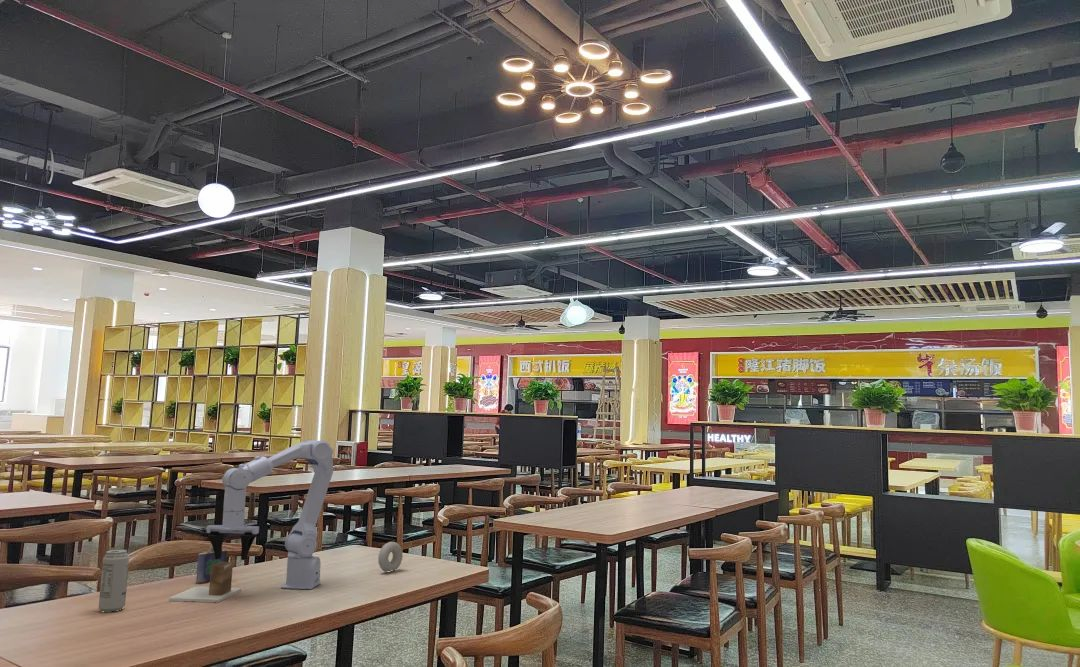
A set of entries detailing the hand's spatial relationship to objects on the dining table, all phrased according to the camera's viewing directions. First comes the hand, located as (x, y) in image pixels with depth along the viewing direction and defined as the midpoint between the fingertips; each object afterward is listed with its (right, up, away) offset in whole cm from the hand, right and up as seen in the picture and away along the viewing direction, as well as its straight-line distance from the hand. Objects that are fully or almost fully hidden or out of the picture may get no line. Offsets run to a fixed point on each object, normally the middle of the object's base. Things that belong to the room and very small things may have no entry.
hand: (231, 559), depth 208 cm
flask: (-14, -12, +17) cm, 25 cm away
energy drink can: (-24, -8, -18) cm, 31 cm away
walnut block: (-3, -9, -1) cm, 10 cm away
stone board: (-7, -10, -1) cm, 12 cm away
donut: (+38, -16, +35) cm, 54 cm away
